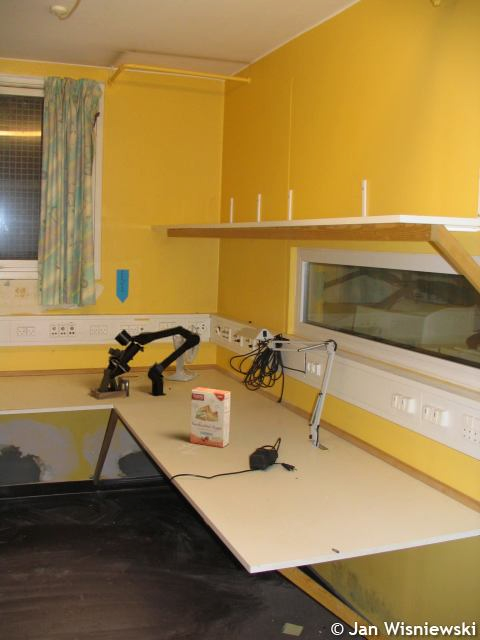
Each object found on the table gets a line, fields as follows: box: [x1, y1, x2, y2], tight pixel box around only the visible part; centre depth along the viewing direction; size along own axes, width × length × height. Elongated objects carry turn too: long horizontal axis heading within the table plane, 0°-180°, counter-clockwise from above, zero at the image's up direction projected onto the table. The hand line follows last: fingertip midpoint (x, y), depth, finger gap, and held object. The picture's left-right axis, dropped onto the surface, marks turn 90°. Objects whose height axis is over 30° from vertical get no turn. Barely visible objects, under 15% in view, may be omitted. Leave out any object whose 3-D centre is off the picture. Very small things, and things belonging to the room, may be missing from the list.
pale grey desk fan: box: [166, 325, 202, 382], centre depth 395 cm, size 30×22×30 cm
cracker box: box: [190, 386, 232, 449], centre depth 269 cm, size 14×6×21 cm, turn 66°
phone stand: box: [98, 368, 119, 393], centre depth 344 cm, size 9×6×12 cm, turn 125°
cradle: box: [90, 376, 130, 400], centre depth 345 cm, size 11×16×8 cm
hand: (107, 376), depth 344 cm, fingers open, 9 cm apart
